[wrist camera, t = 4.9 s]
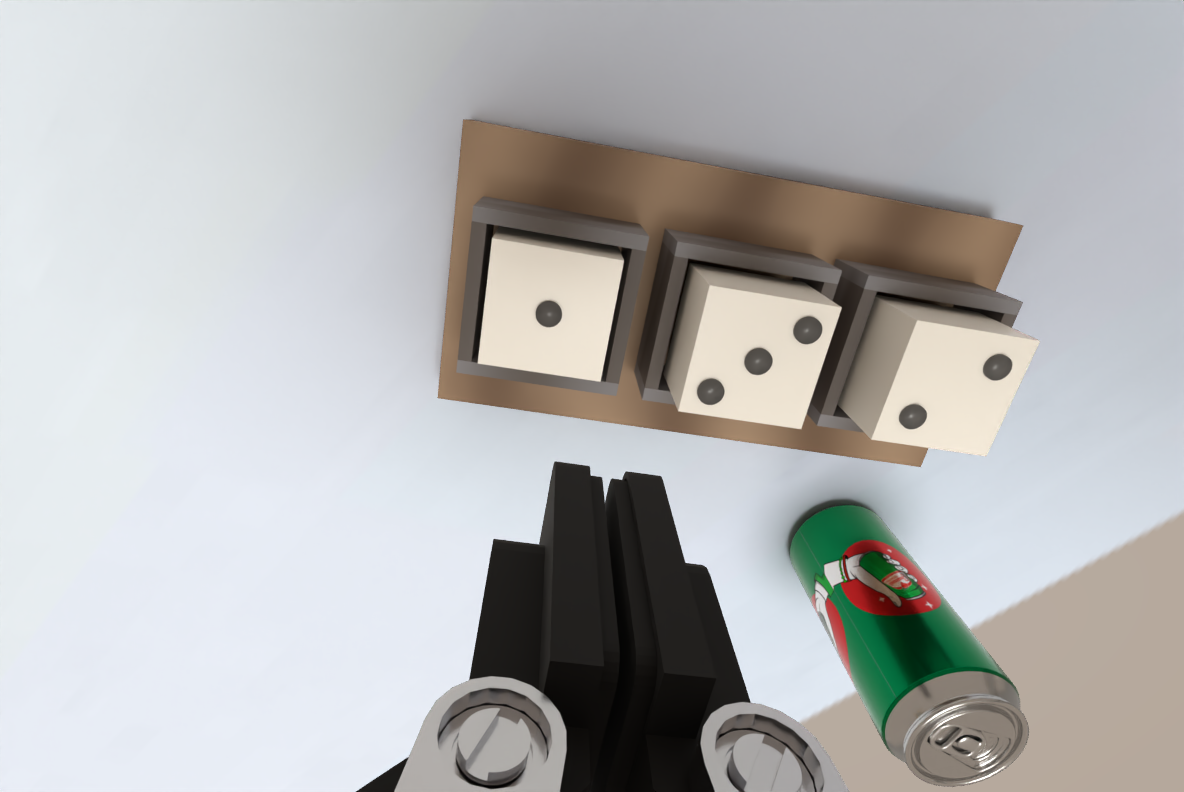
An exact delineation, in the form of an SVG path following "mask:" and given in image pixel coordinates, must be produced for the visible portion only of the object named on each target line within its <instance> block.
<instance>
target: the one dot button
mask: <svg viewBox="0 0 1184 792" xmlns="http://www.w3.org/2000/svg"><path fill="white" fill-rule="evenodd" d="M623 264H624V259H623V257H622V255H621V253H620V250H619V248H618V246H613V245H607V244H602V243H596V242H590V241H584V240H578V239H573V238H567V237H561V236H555V235H550V234H544V233H538V232H532V231H526V230H521V229H515V228H509V227H503V226H499V228H498V229H497V231H496V233H495V234H494V236H493V238H492V243H491V252H490V261H489V269H488V278H487V287H486V295H485V304H484V313H483V321H482V330H481V339H480V347H479V356H478V364H485V365H491V366H498V367H505V368H512V369H518V370H525V371H532V372H538V373H545V374H552V375H558V376H565V377H572V378H578V379H585V380H592V381H599V382H600V381H601V376H602V371H603V366H604V361H605V356H606V351H607V346H608V341H609V335H610V330H611V325H612V320H613V315H614V310H615V305H616V300H617V295H618V290H619V284H620V279H621V274H622V269H623Z"/></svg>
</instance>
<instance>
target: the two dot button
mask: <svg viewBox="0 0 1184 792" xmlns="http://www.w3.org/2000/svg"><path fill="white" fill-rule="evenodd" d="M1039 342H1040V341H1039V340H1037V339H1035V338H1033V337H1030V336H1028V335H1026V334H1024V333H1022V332H1020V331H1017V330H1015V329H1013V328H1011V327H1009V326H1007V325H1004V324H1002V323H1000V322H998V321H996V320H993V319H991V318H989V317H987V316H985V315H983V314H980V313H978V312H973V311H968V310H962V309H956V308H950V307H944V306H938V305H933V304H927V303H921V302H915V301H909V300H904V299H898V298H892V297H886V296H880V295H876V296H875V299H874V302H873V305H872V307H871V310H870V313H869V316H868V319H867V321H866V324H865V327H864V330H863V333H862V336H861V338H860V341H859V344H858V347H857V350H856V353H855V355H854V358H853V361H852V364H851V367H850V369H849V372H848V375H847V378H846V381H845V384H844V386H843V389H842V392H841V395H840V398H839V401H838V403H837V405H838V406H839V407H840V408H841V409H842V410H843V411H844V412H845V413H846V414H847V415H848V416H849V417H850V418H851V419H852V420H853V421H854V422H855V423H856V424H857V425H858V426H859V427H860V428H861V429H862V430H863V431H864V433H865V434H866V435H867V436H868V437H869V438H870V439H871V440H878V441H885V442H892V443H898V444H905V445H912V446H919V447H926V448H933V449H939V450H946V451H953V452H960V453H967V454H974V455H980V456H987V454H988V452H989V449H990V447H991V445H992V443H993V441H994V439H995V437H996V434H997V432H998V430H999V428H1000V426H1001V424H1002V422H1003V419H1004V417H1005V415H1006V413H1007V411H1008V409H1009V407H1010V404H1011V402H1012V400H1013V398H1014V396H1015V394H1016V392H1017V389H1018V387H1019V385H1020V383H1021V381H1022V379H1023V377H1024V375H1025V372H1026V370H1027V368H1028V366H1029V364H1030V362H1031V360H1032V357H1033V355H1034V353H1035V351H1036V349H1037V347H1038V345H1039Z"/></svg>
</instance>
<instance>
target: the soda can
mask: <svg viewBox="0 0 1184 792" xmlns="http://www.w3.org/2000/svg"><path fill="white" fill-rule="evenodd" d="M790 559H791V563H792V566H793V568H794V570H795V572H796V574H797V576H798V578H799V580H800V582H801V584H802V586H803V587H804V589H805V591H806V593H807V595H808V597H809V599H810V601H811V603H812V605H813V607H814V609H815V611H816V613H817V615H818V616H819V618H820V620H821V622H822V624H823V626H824V628H825V630H826V632H827V634H828V636H829V638H830V640H831V642H832V644H833V646H834V647H835V649H836V651H837V653H838V655H839V657H840V659H841V661H842V663H843V665H844V667H845V669H846V671H847V673H848V675H849V676H850V678H851V680H852V682H853V684H854V686H855V688H856V690H857V692H858V694H859V696H860V698H861V700H862V702H863V703H864V705H865V707H866V709H867V711H868V713H869V715H870V717H871V719H872V721H873V723H874V725H875V727H876V728H877V731H878V733H879V735H880V736H881V738H882V740H883V742H884V744H885V745H886V747H887V749H888V750H889V751H890V752H891V753H892V754H893V755H894V756H896V757H897V758H898V759H900V760H901V761H903V762H905V763H906V764H907V766H908V768H909V769H910V770H911V771H912V772H913V774H914V775H916V776H917V777H918V778H919V779H921V780H923V781H925V782H927V783H930V784H933V785H938V786H947V787H949V786H950V787H955V786H964V785H968V784H973V783H977V782H980V781H983V780H985V779H988V778H990V777H992V776H994V775H996V774H998V773H999V772H1001V771H1002V770H1004V769H1006V768H1007V767H1008V766H1009V765H1010V764H1012V763H1013V762H1014V761H1015V760H1016V759H1017V758H1018V756H1019V755H1020V754H1021V752H1022V751H1023V749H1024V747H1025V745H1026V743H1027V740H1028V736H1029V727H1028V723H1027V720H1026V718H1025V716H1024V714H1023V713H1022V712H1021V710H1020V698H1019V694H1018V691H1017V689H1016V687H1015V686H1014V685H1013V683H1012V682H1011V681H1010V679H1009V678H1008V677H1007V675H1006V674H1005V673H1004V672H1003V670H1002V669H1001V668H1000V667H999V665H998V664H997V663H996V662H995V660H994V659H993V658H992V657H991V655H990V654H989V653H988V652H987V651H986V649H985V648H984V647H983V645H982V644H981V643H980V642H979V641H978V639H977V638H976V637H975V636H974V634H973V633H972V632H971V631H970V629H969V628H968V627H967V626H966V624H965V623H964V622H963V621H962V619H961V618H960V617H959V616H958V614H957V613H956V612H955V611H954V609H953V608H952V607H951V606H950V604H949V603H948V602H947V601H946V599H945V598H944V597H943V596H942V594H941V593H940V592H939V591H938V589H937V588H936V587H935V586H934V584H933V583H932V582H931V581H930V579H929V578H928V577H927V576H926V574H925V573H924V572H923V571H922V569H921V568H920V567H919V566H918V564H917V563H916V562H915V561H914V559H913V558H912V557H911V556H910V554H909V553H908V552H907V551H906V549H905V548H904V547H903V546H902V544H901V543H900V542H899V541H898V539H897V538H896V537H895V536H894V534H893V533H892V532H891V531H890V529H889V528H888V527H887V526H886V524H885V523H884V522H883V521H882V519H881V518H880V517H879V516H878V515H877V514H875V513H874V512H872V511H871V510H869V509H866V508H864V507H860V506H855V505H841V506H834V507H829V508H827V509H824V510H821V511H819V512H817V513H815V514H814V515H812V516H811V517H810V518H808V519H807V520H806V521H805V522H804V523H803V524H802V525H801V527H800V528H799V529H798V531H797V532H796V534H795V536H794V538H793V540H792V543H791V547H790Z"/></svg>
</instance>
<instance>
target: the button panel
mask: <svg viewBox="0 0 1184 792" xmlns="http://www.w3.org/2000/svg"><path fill="white" fill-rule="evenodd" d="M499 226H503V227H509V228H515V229H521V230H526V231H532V232H538V233H544V234H550V235H555V236H561V237H567V238H573V239H578V240H584V241H590V242H596V243H602V244H607V245H613V246H618V248H619V250H620V253H621V255H622V257H623V259H624V264H623V269H622V274H621V279H620V284H619V290H618V295H617V300H616V305H615V310H614V315H613V320H612V325H611V330H610V335H609V341H608V346H607V351H606V356H605V361H604V366H603V371H602V376H601V381H600V382H599V381H592V380H585V379H578V378H572V377H565V376H558V375H552V374H545V373H538V372H532V371H525V370H518V369H512V368H505V367H498V366H491V365H485V364H478V356H479V347H480V339H481V330H482V321H483V313H484V304H485V295H486V287H487V278H488V269H489V261H490V252H491V243H492V238H493V236H494V234H495V233H496V231H497V229H498V228H499ZM1022 227H1023V225H1018V224H1014V223H1010V222H1005V221H1001V220H996V219H992V218H987V217H981V216H976V215H971V214H966V213H960V212H955V211H950V210H944V209H939V208H934V207H929V206H923V205H918V204H913V203H908V202H902V201H897V200H892V199H886V198H881V197H876V196H871V195H865V194H860V193H855V192H850V191H844V190H839V189H834V188H828V187H823V186H818V185H813V184H807V183H802V182H797V181H791V180H786V179H781V178H776V177H770V176H765V175H760V174H755V173H749V172H744V171H739V170H733V169H728V168H723V167H718V166H712V165H707V164H702V163H697V162H691V161H686V160H681V159H675V158H670V157H665V156H660V155H654V154H649V153H644V152H639V151H633V150H628V149H623V148H617V147H612V146H607V145H602V144H596V143H591V142H586V141H580V140H575V139H570V138H565V137H559V136H554V135H549V134H544V133H538V132H533V131H528V130H522V129H517V128H512V127H507V126H501V125H496V124H491V123H486V122H480V121H475V120H463V128H462V139H461V150H460V160H459V171H458V182H457V193H456V204H455V215H454V226H453V237H452V248H451V258H450V269H449V280H448V291H447V302H446V313H445V324H444V335H443V346H442V356H441V367H440V378H439V389H438V398H441V399H448V400H455V401H462V402H469V403H476V404H483V405H490V406H497V407H504V408H511V409H518V410H525V411H532V412H539V413H546V414H553V415H560V416H567V417H574V418H581V419H588V420H595V421H602V422H609V423H616V424H623V425H630V426H637V427H644V428H651V429H658V430H665V431H672V432H679V433H686V434H693V435H700V436H707V437H714V438H721V439H728V440H735V441H742V442H749V443H756V444H763V445H770V446H777V447H784V448H791V449H798V450H805V451H812V452H819V453H826V454H833V455H840V456H847V457H854V458H861V459H868V460H875V461H883V462H890V463H897V464H904V465H911V466H918V467H921V465H922V462H923V460H924V458H925V455H926V453H927V450H928V448H926V447H919V446H912V445H905V444H898V443H892V442H885V441H878V440H871V439H870V438H869V437H868V436H867V435H866V434H865V433H864V431H863V430H862V429H861V428H860V427H859V426H858V425H857V424H856V423H855V422H854V421H853V420H852V419H851V418H850V417H849V416H848V415H847V414H846V413H845V412H844V411H843V410H842V409H841V408H840V407H839V406H838V405H837V403H838V401H839V398H840V395H841V392H842V389H843V386H844V384H845V381H846V378H847V375H848V372H849V369H850V367H851V364H852V361H853V358H854V355H855V353H856V350H857V347H858V344H859V341H860V338H861V336H862V333H863V330H864V327H865V324H866V321H867V319H868V316H869V313H870V310H871V307H872V305H873V302H874V299H875V296H876V295H880V296H886V297H892V298H898V299H904V300H909V301H915V302H921V303H927V304H933V305H938V306H944V307H950V308H956V309H962V310H968V311H973V312H978V313H980V314H983V315H985V316H987V317H989V318H991V319H993V320H996V321H998V322H1000V323H1002V324H1004V325H1007V326H1009V327H1011V328H1012V326H1013V324H1014V321H1015V319H1016V317H1017V315H1018V312H1019V310H1020V308H1021V306H1022V303H1023V302H1021V301H1019V300H1016V299H1014V298H1011V297H1008V296H1006V295H1003V294H1001V293H998V292H996V289H997V286H998V284H999V281H1000V279H1001V277H1002V274H1003V272H1004V270H1005V267H1006V265H1007V263H1008V260H1009V258H1010V256H1011V253H1012V251H1013V249H1014V246H1015V244H1016V242H1017V239H1018V237H1019V235H1020V232H1021V230H1022ZM689 263H695V264H700V265H706V266H712V267H718V268H724V269H729V270H735V271H741V272H747V273H753V274H758V275H764V276H770V277H776V278H782V279H787V280H793V281H799V282H804V283H806V284H807V285H809V286H810V287H812V288H813V289H815V290H816V291H818V292H819V293H821V294H822V295H824V296H825V297H827V298H828V299H830V300H831V301H833V302H834V303H836V304H837V305H839V306H840V307H842V309H841V312H840V315H839V318H838V321H837V324H836V327H835V330H834V333H833V336H832V339H831V342H830V345H829V348H828V351H827V354H826V357H825V360H824V363H823V366H822V368H821V371H820V374H819V377H818V380H817V383H816V386H815V389H814V392H813V395H812V398H811V401H810V404H809V407H808V410H807V413H806V416H805V419H804V422H803V425H802V428H801V429H796V428H789V427H782V426H775V425H769V424H762V423H755V422H748V421H741V420H734V419H728V418H721V417H714V416H707V415H700V414H693V413H687V412H680V411H678V409H677V407H676V404H675V402H674V399H673V397H672V394H671V392H670V389H669V387H668V384H667V382H666V379H665V377H664V369H665V365H666V361H667V357H668V352H669V348H670V344H671V340H672V335H673V331H674V327H675V323H676V318H677V314H678V310H679V306H680V301H681V297H682V293H683V289H684V284H685V280H686V276H687V272H688V267H689Z"/></svg>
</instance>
